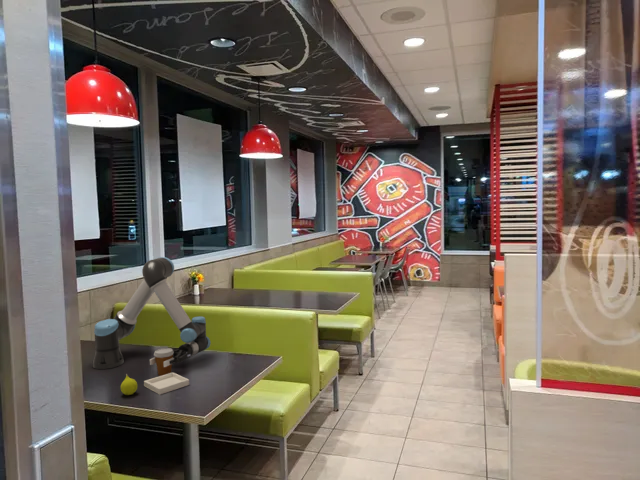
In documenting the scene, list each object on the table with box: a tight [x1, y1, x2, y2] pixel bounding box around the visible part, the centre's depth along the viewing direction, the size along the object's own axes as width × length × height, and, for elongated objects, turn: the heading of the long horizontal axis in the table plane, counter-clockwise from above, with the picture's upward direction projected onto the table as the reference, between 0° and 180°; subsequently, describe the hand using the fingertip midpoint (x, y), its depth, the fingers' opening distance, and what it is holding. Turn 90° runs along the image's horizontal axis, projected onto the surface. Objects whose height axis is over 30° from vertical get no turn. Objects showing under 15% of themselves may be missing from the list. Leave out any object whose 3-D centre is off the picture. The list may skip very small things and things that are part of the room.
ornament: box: [120, 373, 138, 396], centre depth 209 cm, size 7×7×10 cm
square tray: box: [143, 371, 190, 396], centre depth 219 cm, size 15×15×2 cm
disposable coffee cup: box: [153, 347, 174, 377], centre depth 234 cm, size 10×10×12 cm
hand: (157, 363), depth 229 cm, fingers closed on disposable coffee cup, 8 cm apart
